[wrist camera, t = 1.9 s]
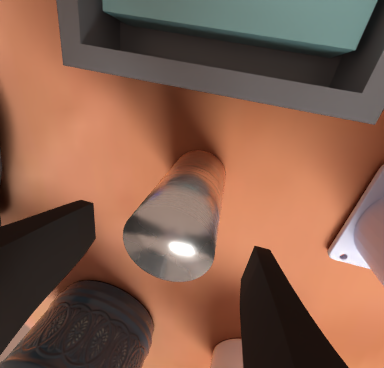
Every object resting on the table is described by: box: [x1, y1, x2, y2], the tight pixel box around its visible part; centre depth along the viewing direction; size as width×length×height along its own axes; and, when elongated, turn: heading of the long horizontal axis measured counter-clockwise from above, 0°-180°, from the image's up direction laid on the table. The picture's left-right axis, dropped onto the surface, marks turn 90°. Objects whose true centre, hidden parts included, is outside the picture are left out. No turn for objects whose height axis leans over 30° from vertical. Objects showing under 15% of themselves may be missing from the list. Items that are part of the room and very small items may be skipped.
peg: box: [123, 150, 225, 282], centre depth 12 cm, size 4×4×8 cm
